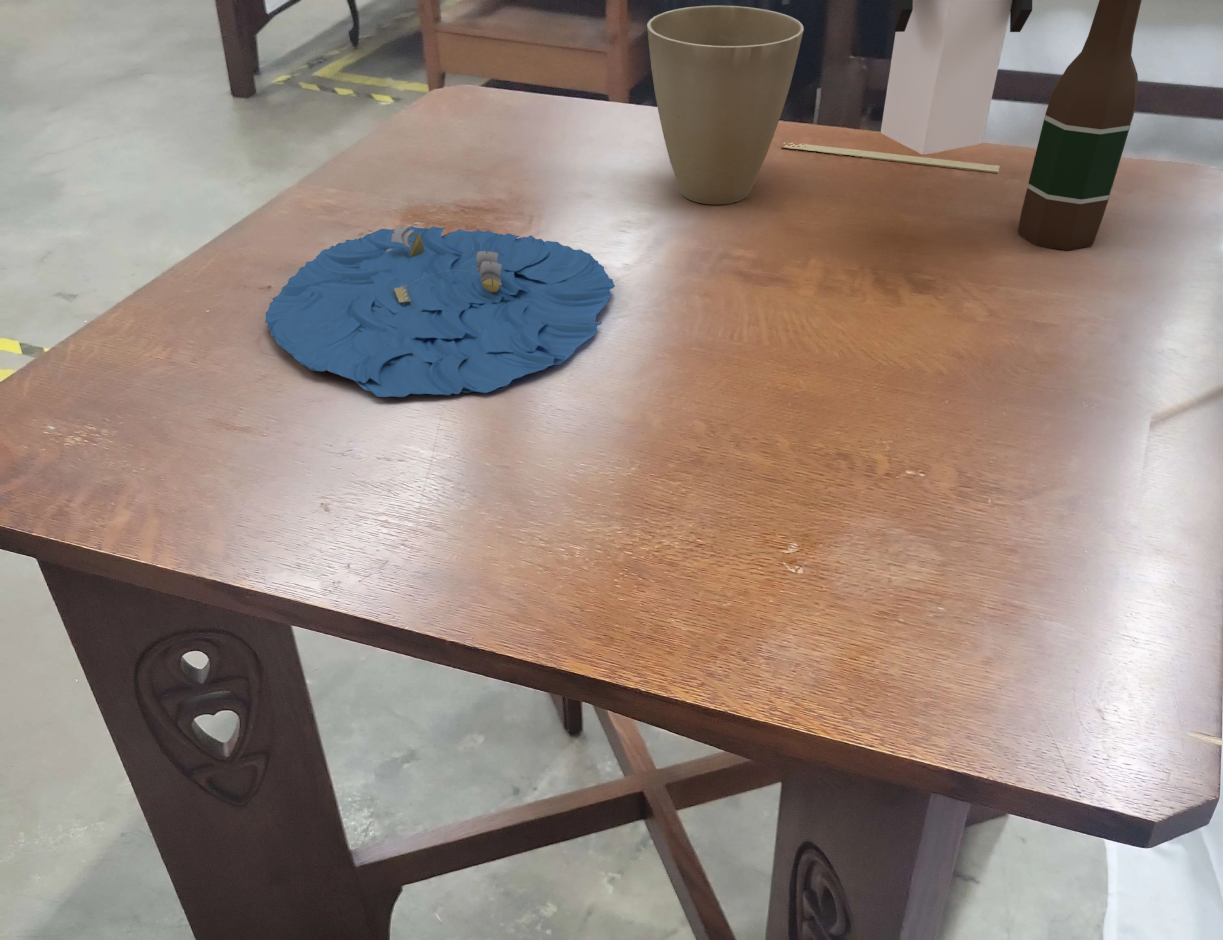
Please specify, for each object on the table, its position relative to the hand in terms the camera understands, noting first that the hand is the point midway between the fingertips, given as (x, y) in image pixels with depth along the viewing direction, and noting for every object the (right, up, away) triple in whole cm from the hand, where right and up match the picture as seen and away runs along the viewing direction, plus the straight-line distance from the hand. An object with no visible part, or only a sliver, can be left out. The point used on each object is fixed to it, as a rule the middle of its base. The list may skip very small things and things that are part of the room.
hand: (962, 20), depth 80 cm
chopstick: (+5, +7, +40) cm, 40 cm away
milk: (0, -5, +9) cm, 10 cm away
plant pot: (-15, 0, +33) cm, 36 cm away
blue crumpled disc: (-40, -18, +13) cm, 46 cm away
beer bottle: (+17, -8, +24) cm, 30 cm away
